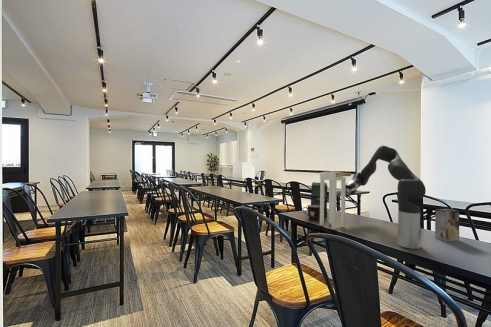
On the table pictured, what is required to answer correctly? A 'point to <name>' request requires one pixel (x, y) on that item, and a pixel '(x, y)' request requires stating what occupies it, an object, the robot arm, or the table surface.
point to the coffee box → (447, 224)
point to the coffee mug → (313, 212)
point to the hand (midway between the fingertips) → (340, 197)
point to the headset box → (318, 196)
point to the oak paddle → (340, 174)
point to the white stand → (332, 198)
